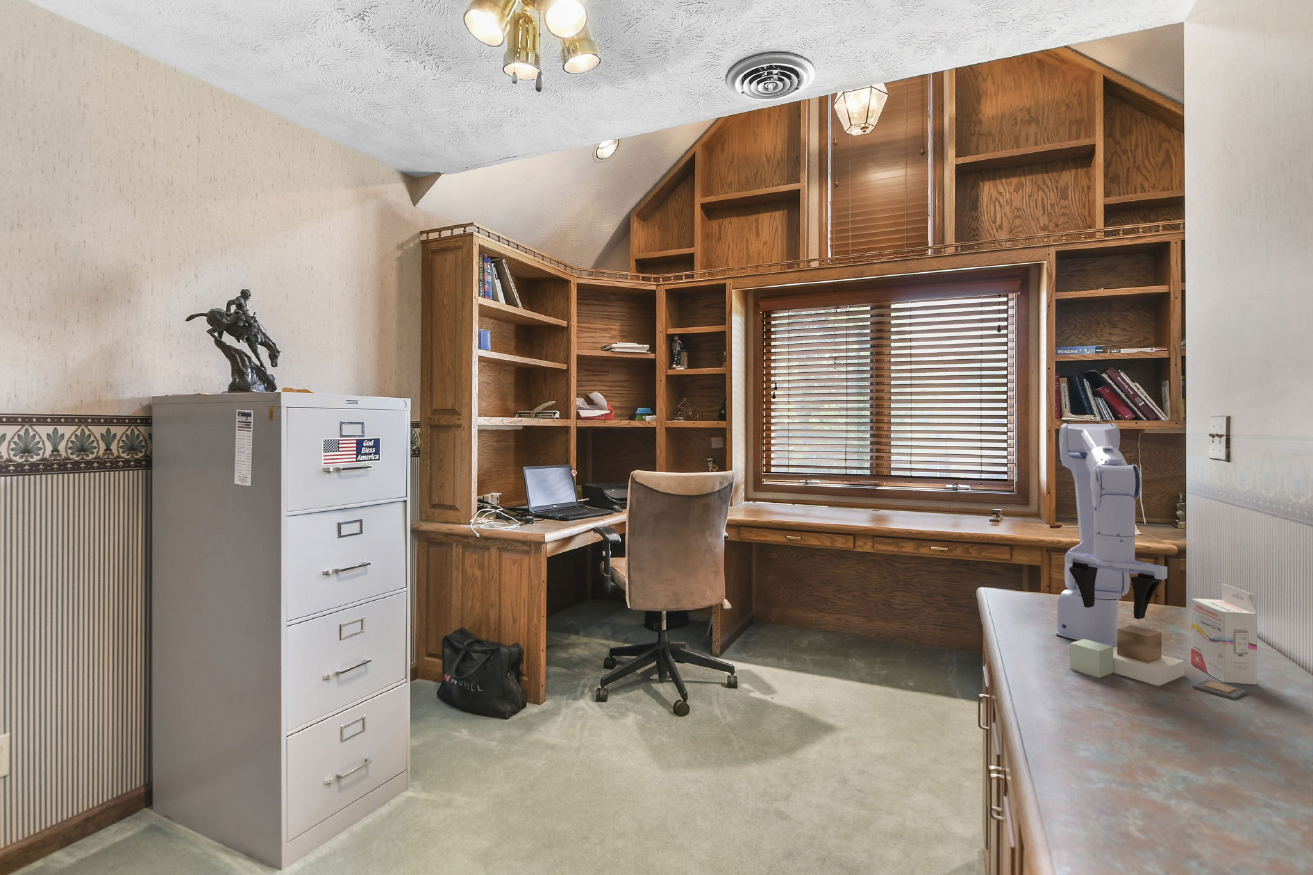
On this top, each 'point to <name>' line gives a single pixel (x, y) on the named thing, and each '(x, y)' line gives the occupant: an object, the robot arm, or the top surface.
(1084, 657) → the sage block
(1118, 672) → the base block
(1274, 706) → the top surface
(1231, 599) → the ink cartridge box
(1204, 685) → the tile
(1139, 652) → the walnut block
